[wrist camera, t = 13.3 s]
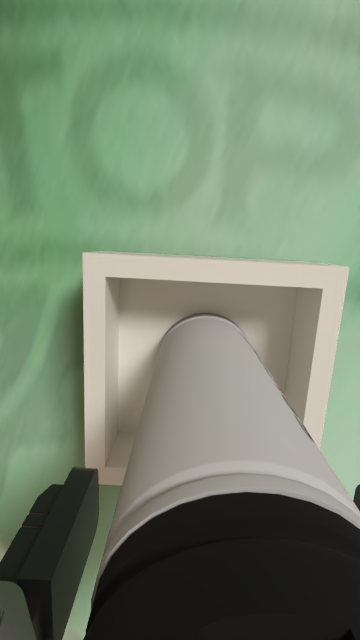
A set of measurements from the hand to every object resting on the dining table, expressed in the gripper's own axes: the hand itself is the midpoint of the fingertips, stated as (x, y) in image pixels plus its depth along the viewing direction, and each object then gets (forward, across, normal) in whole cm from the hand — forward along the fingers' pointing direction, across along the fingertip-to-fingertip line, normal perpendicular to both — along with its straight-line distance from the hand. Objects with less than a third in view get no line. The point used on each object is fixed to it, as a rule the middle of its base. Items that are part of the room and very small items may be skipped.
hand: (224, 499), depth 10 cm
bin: (+14, 0, 0) cm, 14 cm away
